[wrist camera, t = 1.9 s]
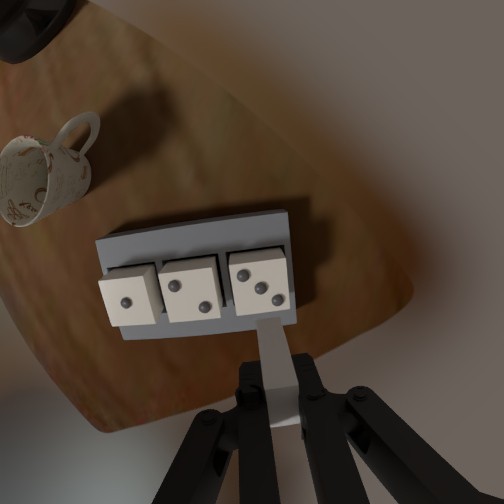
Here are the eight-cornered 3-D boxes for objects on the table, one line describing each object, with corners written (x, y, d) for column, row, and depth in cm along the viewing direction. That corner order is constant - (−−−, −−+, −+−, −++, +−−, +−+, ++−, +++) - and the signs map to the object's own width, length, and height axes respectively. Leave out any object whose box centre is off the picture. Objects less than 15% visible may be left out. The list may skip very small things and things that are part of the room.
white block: (112, 268, 29) (97, 281, 25) (154, 263, 29) (142, 276, 25) (124, 310, 30) (111, 327, 26) (164, 307, 30) (155, 324, 26)
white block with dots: (230, 253, 29) (228, 265, 25) (279, 247, 29) (286, 258, 25) (236, 299, 30) (236, 317, 26) (284, 292, 30) (290, 309, 26)
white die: (167, 261, 29) (157, 274, 25) (215, 255, 29) (211, 268, 25) (177, 305, 30) (169, 323, 26) (222, 301, 30) (220, 318, 26)
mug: (37, 183, 28) (-16, 191, 18) (92, 99, 26) (44, 79, 16) (75, 225, 29) (24, 245, 20) (137, 139, 27) (94, 126, 18)
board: (106, 234, 30) (95, 240, 27) (282, 208, 30) (287, 212, 27) (131, 327, 33) (123, 339, 30) (292, 311, 33) (296, 323, 30)
